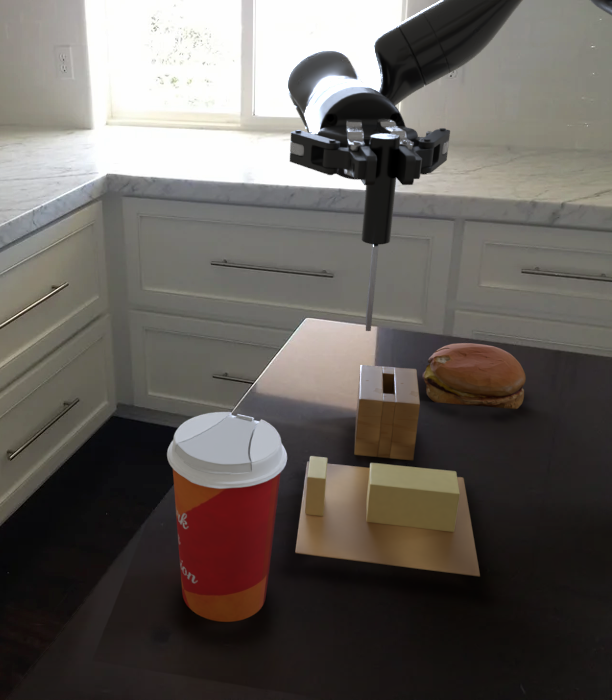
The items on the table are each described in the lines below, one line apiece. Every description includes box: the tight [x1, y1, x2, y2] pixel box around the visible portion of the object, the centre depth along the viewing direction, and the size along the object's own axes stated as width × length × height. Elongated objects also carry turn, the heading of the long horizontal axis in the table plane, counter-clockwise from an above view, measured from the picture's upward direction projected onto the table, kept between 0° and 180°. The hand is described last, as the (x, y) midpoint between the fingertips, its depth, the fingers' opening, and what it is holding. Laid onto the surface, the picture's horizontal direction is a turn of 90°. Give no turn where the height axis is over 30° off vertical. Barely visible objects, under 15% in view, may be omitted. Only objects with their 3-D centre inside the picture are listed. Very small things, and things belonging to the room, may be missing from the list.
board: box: [294, 461, 481, 577], centre depth 69 cm, size 13×13×2 cm
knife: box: [361, 134, 400, 332], centre depth 69 cm, size 2×3×15 cm
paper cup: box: [166, 411, 288, 623], centre depth 58 cm, size 8×8×14 cm
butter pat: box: [305, 455, 329, 516], centre depth 69 cm, size 1×3×4 cm, turn 166°
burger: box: [421, 342, 527, 410], centre depth 88 cm, size 10×9×5 cm
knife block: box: [353, 364, 421, 461], centre depth 78 cm, size 5×7×7 cm
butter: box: [366, 462, 460, 532], centre depth 67 cm, size 6×3×4 cm, turn 77°
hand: (390, 171), depth 64 cm, fingers closed on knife, 2 cm apart
